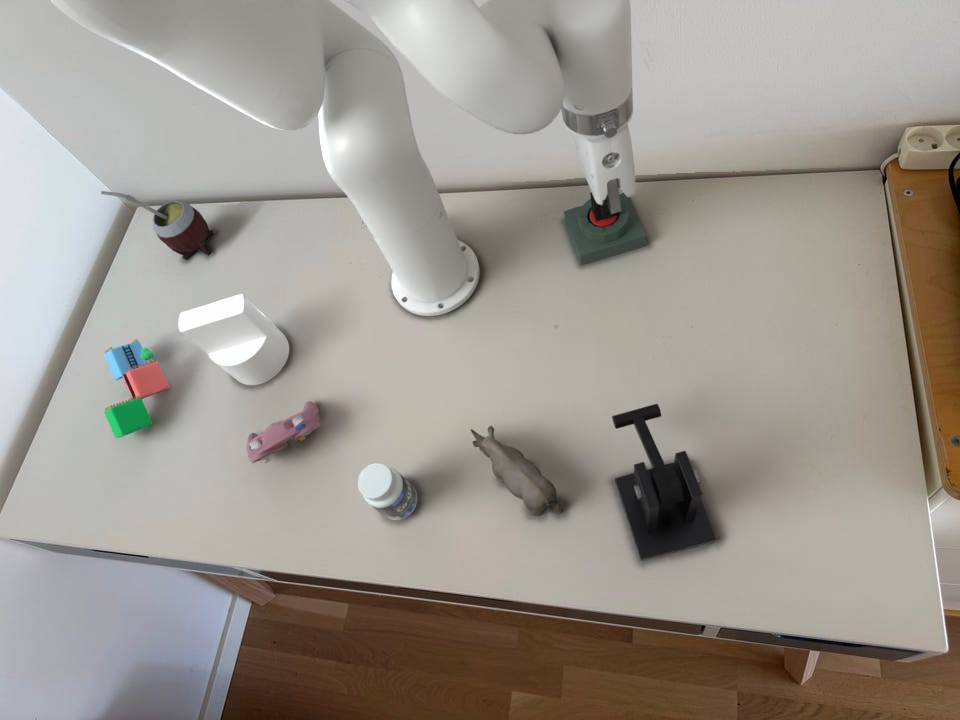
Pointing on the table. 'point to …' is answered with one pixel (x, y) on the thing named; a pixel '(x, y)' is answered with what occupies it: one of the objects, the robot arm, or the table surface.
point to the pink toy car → (282, 433)
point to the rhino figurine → (519, 474)
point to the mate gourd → (177, 226)
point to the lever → (653, 454)
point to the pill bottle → (387, 491)
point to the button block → (605, 232)
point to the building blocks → (133, 386)
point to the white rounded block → (237, 338)
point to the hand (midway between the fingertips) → (605, 213)
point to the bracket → (664, 512)
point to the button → (602, 221)
